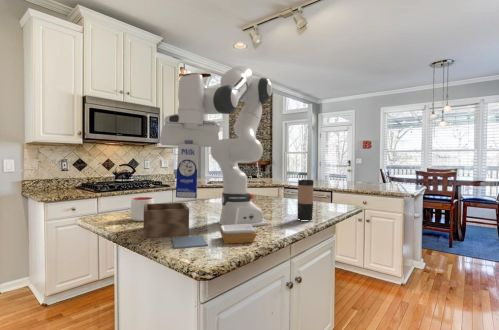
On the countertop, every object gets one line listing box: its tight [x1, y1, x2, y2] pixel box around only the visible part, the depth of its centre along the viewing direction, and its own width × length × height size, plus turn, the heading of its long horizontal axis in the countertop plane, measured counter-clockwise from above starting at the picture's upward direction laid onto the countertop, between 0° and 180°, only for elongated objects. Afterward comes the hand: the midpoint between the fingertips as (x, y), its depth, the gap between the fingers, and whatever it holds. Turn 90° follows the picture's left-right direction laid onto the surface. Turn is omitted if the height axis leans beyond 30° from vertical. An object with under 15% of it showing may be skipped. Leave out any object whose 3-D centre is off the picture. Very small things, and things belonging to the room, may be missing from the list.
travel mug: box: [296, 179, 314, 221], centre depth 140 cm, size 8×8×20 cm
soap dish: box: [219, 224, 258, 245], centre depth 103 cm, size 12×10×5 cm
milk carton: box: [175, 140, 200, 199], centre depth 98 cm, size 7×7×20 cm
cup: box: [130, 196, 155, 222], centre depth 134 cm, size 10×10×10 cm
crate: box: [142, 202, 190, 239], centre depth 113 cm, size 16×16×10 cm
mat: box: [171, 235, 209, 249], centre depth 99 cm, size 11×11×1 cm
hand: (189, 159), depth 99 cm, fingers closed, pressing on milk carton
